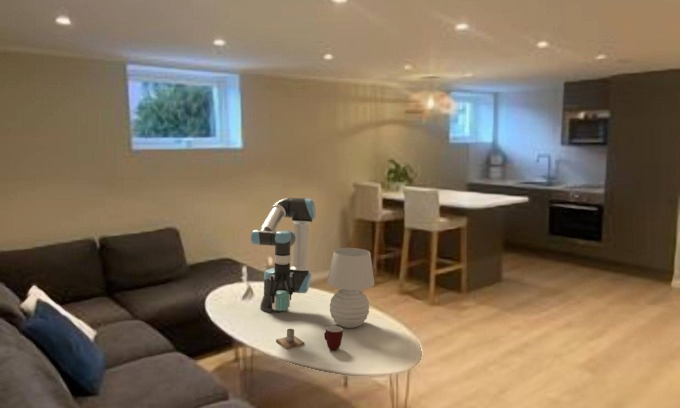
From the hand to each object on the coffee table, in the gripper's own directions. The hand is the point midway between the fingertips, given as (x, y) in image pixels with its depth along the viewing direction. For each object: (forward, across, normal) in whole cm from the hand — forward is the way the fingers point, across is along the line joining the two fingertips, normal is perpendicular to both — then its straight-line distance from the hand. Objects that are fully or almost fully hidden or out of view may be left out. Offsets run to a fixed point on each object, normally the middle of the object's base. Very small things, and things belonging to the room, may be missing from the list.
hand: (281, 307), depth 255 cm
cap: (0, 0, 0) cm, 0 cm away
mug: (+15, -14, +25) cm, 32 cm away
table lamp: (+15, -40, +4) cm, 43 cm away
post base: (+15, 0, +10) cm, 18 cm away
